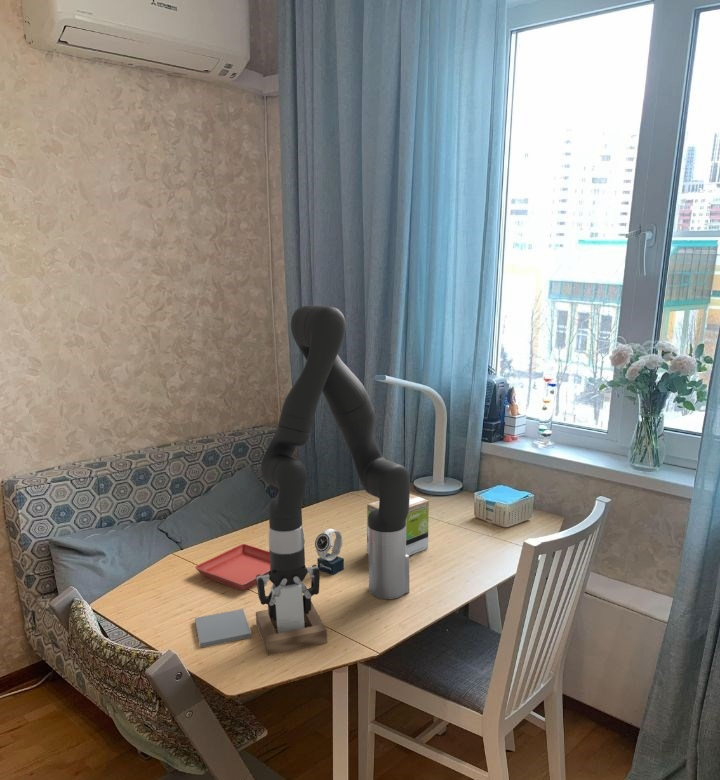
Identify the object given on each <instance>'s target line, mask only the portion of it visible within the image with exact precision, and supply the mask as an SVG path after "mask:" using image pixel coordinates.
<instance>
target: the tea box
mask: <svg viewBox="0 0 720 780" xmlns="http://www.w3.org/2000/svg"><path fill="white" fill-rule="evenodd" d="M429 502H430V501H429V500H427V499H425V498H422V497H420V496H418V495H414V494H411V493H410V500H409V512H408V516H407V518H406V553H407V555H408V556H409V557H410V556H411V555H415V554H417V553H419V552H422V551H424V550H427V549H428V548H429V520H430V519H429V515H430V514H429V513H430V510H429V509H430V503H429ZM366 506H367V507H366V508H367V511H366V513H367V515H366V517H367V519H366V553H367V554H369V549H368V515H369V513H370V512H371V511H373V510H375V509H379V500H377V501H374V502H370V503H368V504H367V505H366Z"/></svg>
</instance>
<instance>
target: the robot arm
mask: <svg viewBox="0 0 720 780" xmlns="http://www.w3.org/2000/svg"><path fill="white" fill-rule="evenodd" d="M290 331H291V334H292V337H293V340H294V341H295V343H296V345H297V347H298V349H299V351H300V352H301V353H302V355H303V357H304V358H305V360H306V362H305V365H304V367H303V369H302V372H301V373H300V375H299V377H298V378H297V380H296V381H295V383H294V385H293V386H292V388H290V390H289V392H288V393H287V396H286V398H285V399H284V402H283V404H282V407H281V412H280V415H279V419H278V423H277V427H276V432H275V434H274V436H273V437H272V438H271V441H270V443H269V444H268V446H267V449H266V450H265V453H264V454H263V457H262V459H261V463H260V475H261V478H262V480H263V481H264V482H265V483H267V484H268V485H270V486H272V487H274V488H277V489H278V496H277V497H274V498H272V499H271V500H270V502H269V503H268V523H269V527H268V528H269V529H268V530H269V531H268V547H269V548H268V551H269V552H270V572H269V574H267V575H263V576H261V575H260V574H258V575H257V576H256V582H257V584H256V586H257V587H256V588H257V594H258V599H259V602H260V604H261V605H263V606H264V605H267V610H268V614H269V616H270V618H272V619H273V621H275V620H276V604H275V596H276V597H279V596H280V594H281V589H282V588H284V586H287V585H292V584H297V585H299V584H301V585H302V593H303V608H304V612H305V614H309V611H311V602H312V597H313V596H314V595H319V593H320V579H321V578H320V576H321V571H320V570H319V569H318V564H317V565H316V564H312V565H311V566H310V567H306V558H305V557H306V556H305V553H306V551H305V543H306V542H305V540H306V539H305V535H304V534H305V533H304V526H303V514H302V513H303V511H302V509H303V508H302V506H303V501H304V499H305V493H306V489H307V484H308V474H307V473H308V472H307V470H306V466H305V464H304V463H303V461H301V460H299V459H297V458H295V457H293V454H294V453H295V451H296V449H297V447H304V446H306V445H307V443H309V442H308V441H309V439H310V435H311V431H312V428H313V424H314V419H315V415H316V411H317V408H318V404H319V402H320V399H321V395H322V394H323V396H324V398H325V400H326V402H327V405H328V407H329V410H330V413H331V414H332V416H333V419H334V421H335V423H336V425H337V427H338V429H339V430H340V433H341V435H342V437H343V440H344V442H345V445H346V446H347V448H348V450H349V453H350V455H351V458H352V461H353V464H354V467H355V470H356V474H357V476H358V480H359V482H360V484H361V487H362V488H363V489H364V491H365V492H366V493H368V494H369V495H371V496H373V497H376V498H378V499H379V500H378V501H379V509H375V510H373V511H371V512H370V513H369V515H368V549H369V553H368V583H369V584H368V588H369V593H370V594H371V595H372V596H373V597H375V598H378V599H383V600H391V599H392V600H394V599H398V598H400V597H403V596H404V595H405V594H406V593H407V594H408V593H410V592H411V591H410V590H411V589H410V555H409V556H408V555H407V553H406V518H407V516H408V512H409V500H410V494H411V479H410V473H409V471H408V469H407V468H406V467H405V466H403V465H402V464H399V463H397V462H394V461H391V460H388V459H386V458H385V457H384V455H383V454H382V452H381V450H380V448H379V446H378V444H377V442H376V440H375V428H376V423H377V421H376V419H377V418H376V417H377V416H376V411H375V408H374V406H373V402H372V401H371V399H370V398H371V397H370V396H369V393H368V391H367V390H366V388H365V387H364V385H363V383H362V382H361V381H360V379H359V378H358V377H357V376H356V374H354V372H352V371H351V369H350V368H349V367H348V366H347V365H346V364H345V363H344V361H343V360H342V359H341V357H340V356H339V352H340V349H341V348H342V347H341V346H342V344H343V341H344V339H345V335H346V331H347V322H346V318H345V316H344V313H342V312H341V310H339V309H338V308H337V307H333V306H327V305H314V304H313V305H311V304H310V305H303V306H300V307H298V308H297V309H295V310H294V312H293V314H292V317H291V319H290ZM307 575H309V576H310V580H311V581H310V587H309V588H308V587H307V585H305V583H304V582H303V581H304V580H305V578H306V577H307ZM268 581H270V582H271V583H272V584H271V587H270V590H269V593H268V595H266V590H265V587H266V586H267V585H268ZM275 586H276V587H277V589H276V591H275V592H274V587H275ZM278 591H279V592H278Z"/></svg>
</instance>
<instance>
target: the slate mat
mask: <svg viewBox="0 0 720 780" xmlns="http://www.w3.org/2000/svg"><path fill="white" fill-rule="evenodd" d="M245 614H246V613H245V611H244V608H241V609H236V610H235V609H234V610H230V611H224V612H219V613H214V614H208V615H204V616H202V615H201V616H198V617H195V618H194V620H195V621H194V623H195V626H196V631H197V632H196V633H197V638H198V643H199V647H200V648H205V647H209V646H215V645H220V644H225V643H230V642H235V641H239V640H240V641H241V640H244V639H248V638H252V632H251V629H250V626H249V623H248V619H247V617H246V615H245Z"/></svg>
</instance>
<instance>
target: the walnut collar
mask: <svg viewBox="0 0 720 780" xmlns="http://www.w3.org/2000/svg"><path fill="white" fill-rule="evenodd" d="M255 624H256V627H257V629H258V632H259V633H258V634H259V635H260V638H261V640H262V643H263V647H264V650H265V651H266V654H267V656H270V655H274V654H275V655H276V654H279V653H284V652H290V651H294V650H300V649H304V648H309V647H312V646H318V645H323V644H327V643H328V629H327V628H326V626H325V623H324V622H323V620H322V619H321V616H320V615H319V613H318V611H317V609H316V607H315V606H314V604H313V602H312V601H311V611H309V614H305V612H304V624H305V625H306V627H305V628H302V629H297V630H292V631H287V632H282V633H278V632H277V631H276V630H275V628H274V627H277V618H276V620H275V621H273V619H272V618H270V616H269V614H268V609H264V610H259V611H255ZM273 626H274V627H273Z"/></svg>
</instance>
